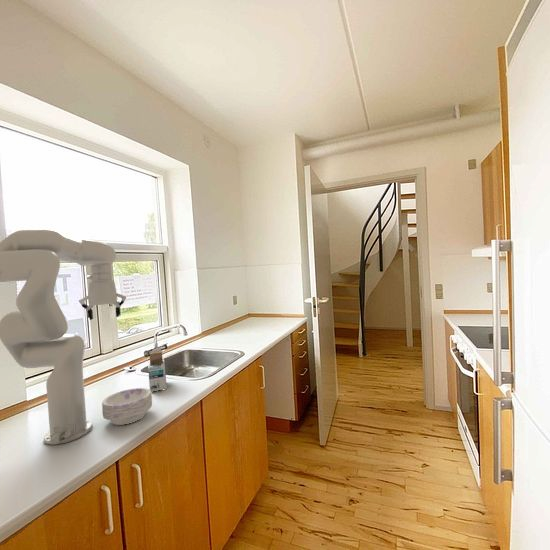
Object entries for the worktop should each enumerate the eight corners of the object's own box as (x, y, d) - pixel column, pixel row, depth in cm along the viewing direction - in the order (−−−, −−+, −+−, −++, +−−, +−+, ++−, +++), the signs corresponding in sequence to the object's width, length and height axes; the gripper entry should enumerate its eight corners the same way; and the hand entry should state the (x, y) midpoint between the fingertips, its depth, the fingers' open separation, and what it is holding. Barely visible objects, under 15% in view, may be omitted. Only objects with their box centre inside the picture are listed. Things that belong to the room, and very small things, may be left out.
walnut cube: (162, 363, 125) (162, 352, 125) (150, 365, 123) (149, 354, 123) (162, 360, 130) (161, 349, 130) (150, 362, 128) (149, 351, 128)
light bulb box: (166, 390, 123) (165, 365, 123) (149, 393, 120) (147, 367, 120) (166, 381, 133) (164, 358, 133) (150, 384, 130) (148, 361, 130)
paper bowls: (147, 404, 110) (146, 383, 110) (157, 419, 98) (155, 396, 98) (101, 417, 102) (100, 395, 101) (105, 436, 89) (103, 410, 89)
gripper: (75, 279, 115) (78, 321, 115) (124, 276, 122) (126, 316, 122) (79, 279, 122) (82, 319, 122) (125, 276, 129) (128, 314, 129)
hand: (104, 318), depth 122 cm, fingers open, 9 cm apart
